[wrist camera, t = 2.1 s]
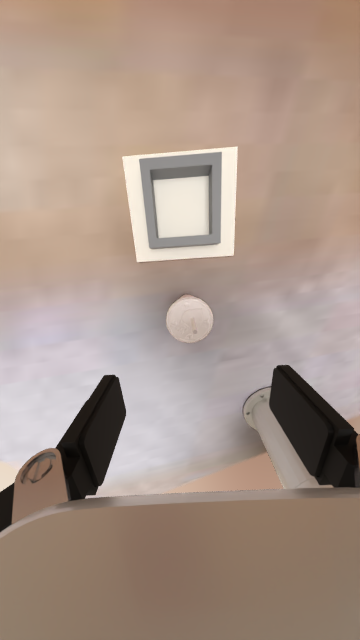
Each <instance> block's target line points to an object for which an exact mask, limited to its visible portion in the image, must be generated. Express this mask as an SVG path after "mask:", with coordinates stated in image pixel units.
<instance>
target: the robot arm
mask: <svg viewBox="0 0 360 640" xmlns="http://www.w3.org/2000/svg"><path fill="white" fill-rule="evenodd" d="M243 415H244V418H245V420H246V422H247V424H248V425H249V426H250V427H252V428H253V429H255V430H257V431H258V433H259V435H260V437H261V439H262V442H263V444H264V446H265V448H266V451H267V453H268V455H269V457H270V459H271V462H272V464H273V466H274V468H275V470H276V473H277V475H278V477H279V479H280V482H281V484H282V486H283V488H284V489H266V490H240V491H216V492H193V493H171V494H151V495H131V496H115V497H101V498H88V499H85V497H86V495H96V492H97V489H98V486H101V485H102V483H103V481H104V478H105V475H106V472H107V469H108V467H109V464H110V461H111V458H112V455H113V452H114V449H115V446H116V443H117V440H118V437H119V434H120V431H121V428H122V426H123V423H124V420H125V416H126V409H125V404H124V400H123V395H122V391H121V387H120V382H119V378H118V377H116V376H115V375H105V376H103V378H102V379H101V381H100V383H99V384H98V386H97V387H96V389H95V390H94V392H93V393H92V395H91V397H90V398H89V400H87V401H86V402H85V404H84V405H83V407H82V408H81V410H80V411H79V413H78V414H77V416H76V418H75V419H74V421H73V422H72V424H71V425H70V427H69V428H68V430H67V431H66V433H65V434H64V436H63V437H62V439H61V440H60V442H59V443H58V445H57V447H56V448H49V449H45V450H43V451H41V452H39V453H37V454H36V455H34V456H33V457H31V458H30V459H29V460H28V461H27V462H26V463H25V464H24V465H23V466H22V468H21V469H20V470H19V472H18V474H17V476H16V479H15V483H13V484H12V485H10V486H9V487H7V488H6V489H4V490H3V491H1V492H0V640H360V434H359V435H358V434H357V433H356V432H355V431H354V428H353V427H352V426H351V425H350V424H349V423H348V422H347V421H346V420H345V419H344V418H343V417H342V416H341V415H340V414H339V413H338V412H337V411H336V410H335V409H334V408H332V407H331V406H330V405H329V404H328V403H327V402H326V401H325V400H324V399H323V398H322V397H321V396H320V395H319V394H318V393H317V392H316V391H315V390H314V389H313V388H312V387H311V386H310V385H309V384H308V383H307V382H306V381H305V380H304V379H303V378H302V377H301V376H300V375H299V374H298V373H296V372H295V371H294V370H293V369H292V368H291V367H290V366H289V365H278V366H277V367H276V368H275V369H274V371H273V378H272V385H271V387H269V388H265V389H262V390H259V391H258V392H256V393H254V394H253V395H252V396H250V398H249V399H248V400H247V401H246V403H245V405H244V408H243Z"/></svg>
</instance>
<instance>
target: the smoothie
mask: <svg viewBox="0 0 360 640" xmlns="http://www.w3.org/2000/svg"><path fill="white" fill-rule="evenodd" d="M166 325H167V328H168V331H169V332H170V334H171V335H172V336H173V337H174V338H175V339H177V340H179V341H181V342H185V343H194V342H198V341H200V340H202V339H203V338H205V337H206V336H207V335H208V334H209V332H210V331H211V329H212V326H213V315H212V312H211V310H210V307H209V306H208V305H207V304H206V303H205V302H204V301H202V300H201V299H198V298H195V297H193V296H192V295H183V296H181V297H180V298H179V300H177V301H175V302H174V303H173V304H172V305H171V306H170V308H169V309H168V312H167V315H166Z"/></svg>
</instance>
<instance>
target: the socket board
mask: <svg viewBox="0 0 360 640" xmlns="http://www.w3.org/2000/svg"><path fill="white" fill-rule="evenodd" d="M237 149H238V147H228V148H216V149H205V150H193V151H181V152H170V153H158V154H147V155H135V156H123V157H122V158H123V165H124V172H125V179H126V186H127V194H128V201H129V208H130V215H131V222H132V229H133V237H134V244H135V251H136V258H137V262H147V261H162V260H176V259H191V258H206V257H220V256H234V232H235V204H236V177H237Z"/></svg>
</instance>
